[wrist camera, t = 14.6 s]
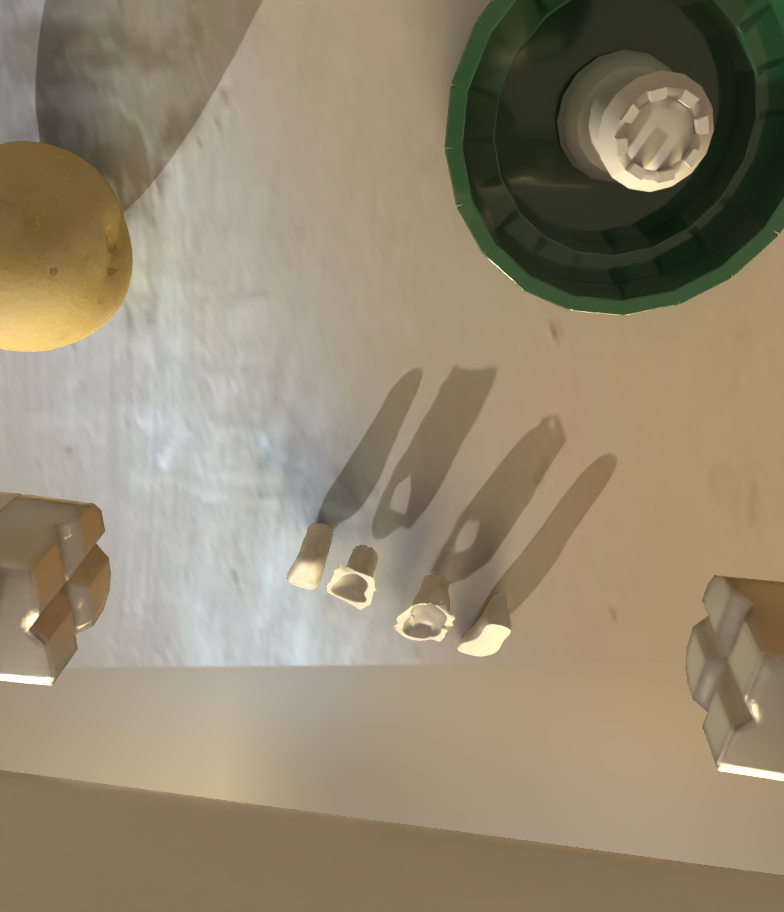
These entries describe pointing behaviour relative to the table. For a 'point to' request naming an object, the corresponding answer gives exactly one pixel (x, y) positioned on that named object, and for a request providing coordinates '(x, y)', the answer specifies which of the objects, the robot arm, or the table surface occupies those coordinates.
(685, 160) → the rook chess piece
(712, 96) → the bowl
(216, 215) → the table surface
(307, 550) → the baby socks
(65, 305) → the potato
